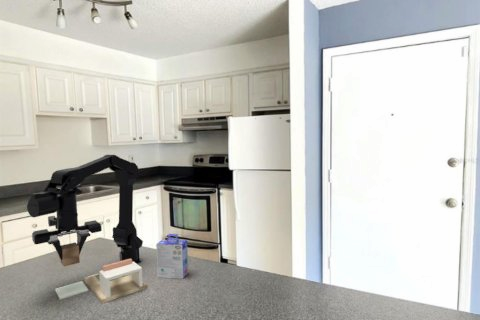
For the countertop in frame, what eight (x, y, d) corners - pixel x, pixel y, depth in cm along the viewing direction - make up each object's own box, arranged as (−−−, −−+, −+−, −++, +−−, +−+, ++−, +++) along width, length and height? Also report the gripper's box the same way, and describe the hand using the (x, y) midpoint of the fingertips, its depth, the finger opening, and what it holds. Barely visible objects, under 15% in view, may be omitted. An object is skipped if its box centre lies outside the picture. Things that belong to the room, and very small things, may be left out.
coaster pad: (82, 282, 105) (81, 281, 105) (88, 291, 99) (88, 289, 99) (55, 290, 100) (54, 288, 100) (60, 300, 94) (59, 298, 94)
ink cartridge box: (189, 272, 111) (187, 233, 110) (183, 279, 106) (182, 238, 105) (163, 271, 113) (161, 232, 112) (156, 277, 107) (155, 237, 106)
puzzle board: (124, 269, 115) (124, 265, 115) (147, 288, 100) (147, 284, 100) (84, 280, 106) (84, 277, 106) (102, 303, 91) (101, 299, 91)
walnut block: (76, 258, 102) (75, 242, 101) (79, 262, 98) (78, 245, 98) (60, 262, 99) (59, 245, 98) (63, 266, 95) (62, 249, 95)
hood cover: (134, 278, 104) (133, 257, 104) (142, 285, 99) (141, 263, 98) (100, 289, 97) (98, 266, 97) (107, 297, 92) (105, 273, 91)
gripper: (91, 201, 109) (93, 244, 111) (28, 210, 97) (31, 258, 99) (100, 206, 101) (103, 252, 102) (32, 216, 89) (36, 269, 90)
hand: (69, 257), depth 98 cm, fingers closed on walnut block, 4 cm apart
